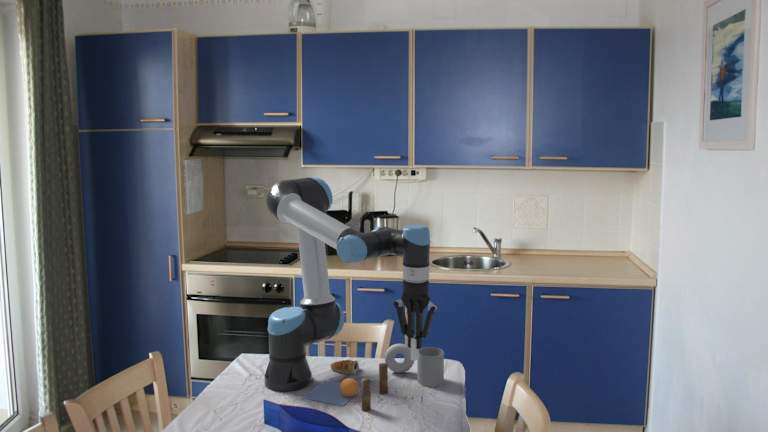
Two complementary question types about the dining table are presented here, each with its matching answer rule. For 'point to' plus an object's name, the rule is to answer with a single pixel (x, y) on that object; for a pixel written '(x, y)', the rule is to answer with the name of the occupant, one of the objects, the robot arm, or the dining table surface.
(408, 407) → the dining table surface
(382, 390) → the post
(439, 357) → the cup
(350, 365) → the pastry
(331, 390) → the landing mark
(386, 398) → the dining table surface
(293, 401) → the dining table surface
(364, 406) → the post
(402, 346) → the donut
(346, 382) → the ball
